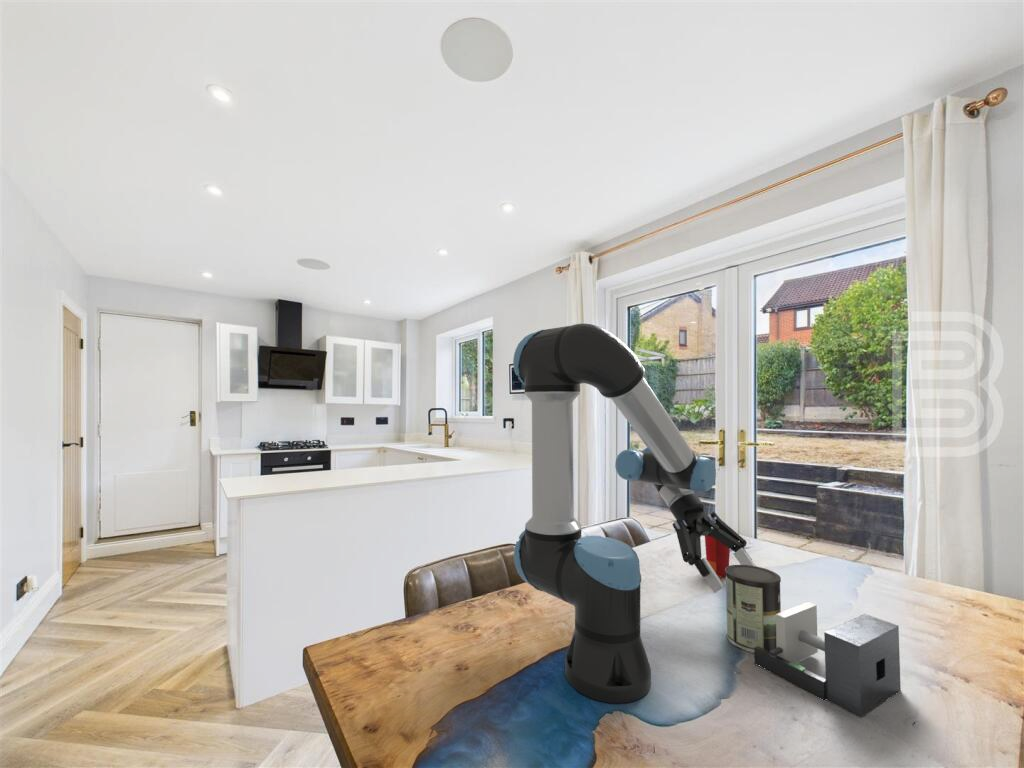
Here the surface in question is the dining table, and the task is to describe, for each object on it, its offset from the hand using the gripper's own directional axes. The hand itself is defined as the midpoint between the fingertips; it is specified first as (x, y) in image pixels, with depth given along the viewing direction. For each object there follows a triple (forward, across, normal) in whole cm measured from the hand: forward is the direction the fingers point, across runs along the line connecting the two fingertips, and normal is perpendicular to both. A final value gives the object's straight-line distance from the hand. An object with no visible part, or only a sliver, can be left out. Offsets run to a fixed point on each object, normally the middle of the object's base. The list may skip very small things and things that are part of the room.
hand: (739, 583), depth 97 cm
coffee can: (+10, +2, -4) cm, 11 cm away
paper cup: (-9, -26, -24) cm, 36 cm away
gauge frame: (+20, +2, +6) cm, 21 cm away
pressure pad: (+19, +3, +6) cm, 20 cm away
